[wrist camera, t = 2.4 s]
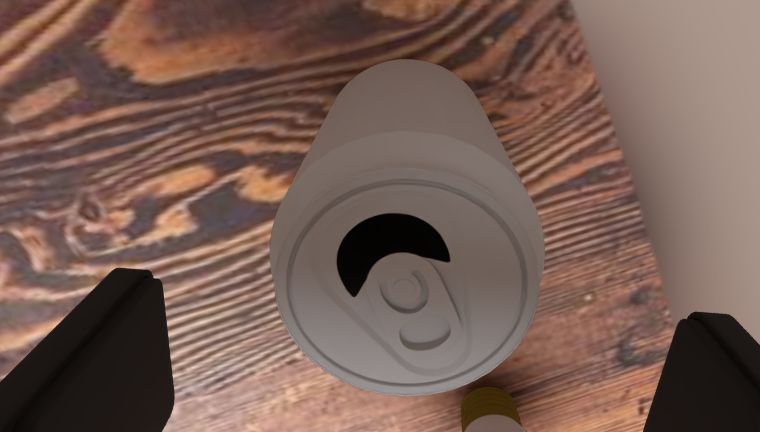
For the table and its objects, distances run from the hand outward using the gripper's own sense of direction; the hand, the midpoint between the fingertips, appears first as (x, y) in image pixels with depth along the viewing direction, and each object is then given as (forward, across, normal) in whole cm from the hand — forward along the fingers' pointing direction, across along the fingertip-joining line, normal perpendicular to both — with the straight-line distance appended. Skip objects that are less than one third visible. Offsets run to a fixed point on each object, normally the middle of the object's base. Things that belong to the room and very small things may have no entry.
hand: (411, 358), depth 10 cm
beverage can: (+14, 0, 0) cm, 14 cm away
